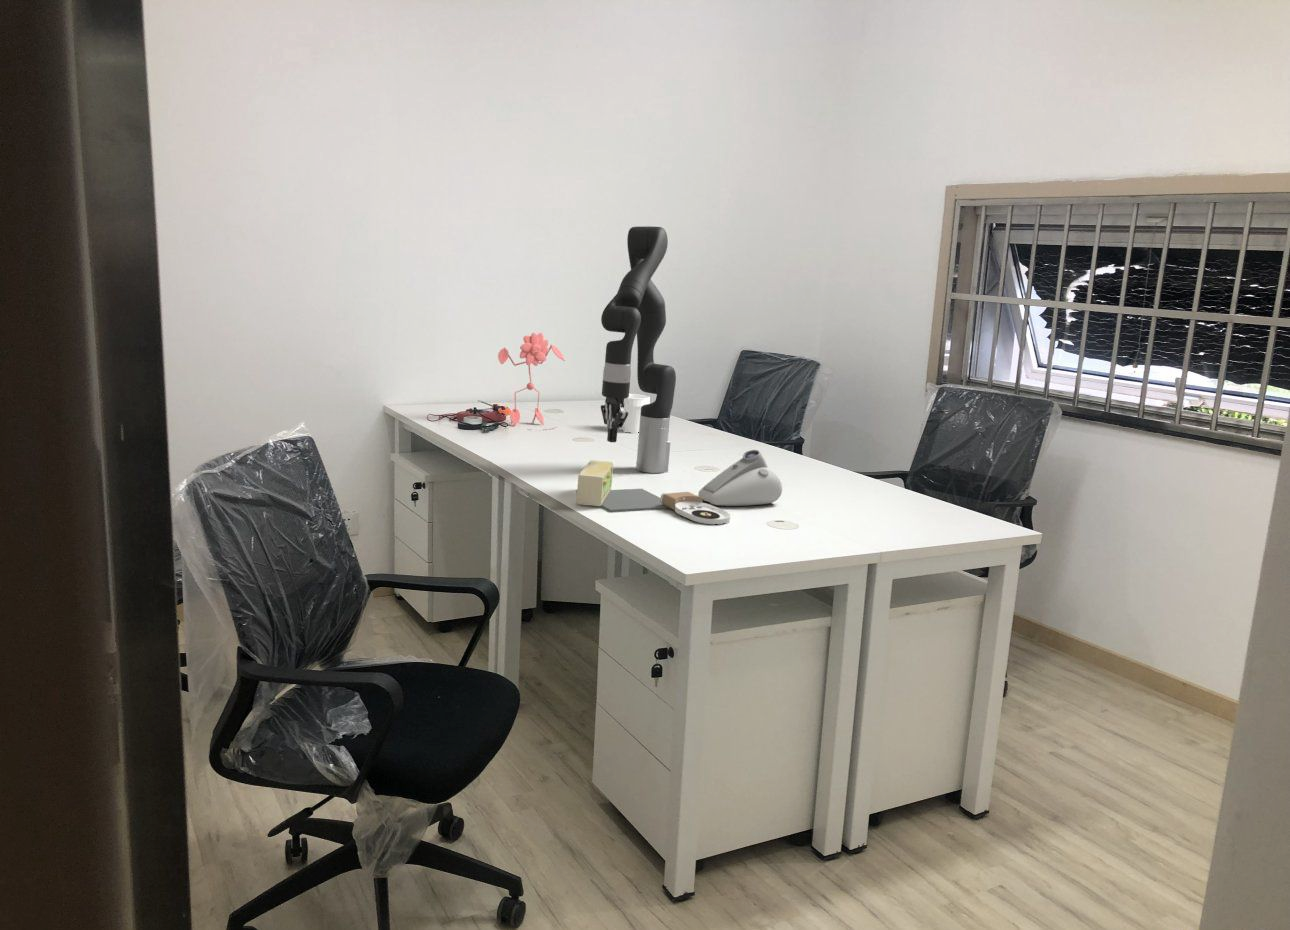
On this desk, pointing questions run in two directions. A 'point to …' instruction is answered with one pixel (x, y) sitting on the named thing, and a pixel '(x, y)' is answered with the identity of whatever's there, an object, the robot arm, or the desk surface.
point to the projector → (744, 483)
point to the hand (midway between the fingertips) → (611, 441)
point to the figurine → (533, 353)
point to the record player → (694, 508)
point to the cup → (634, 411)
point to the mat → (631, 501)
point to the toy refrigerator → (594, 483)
